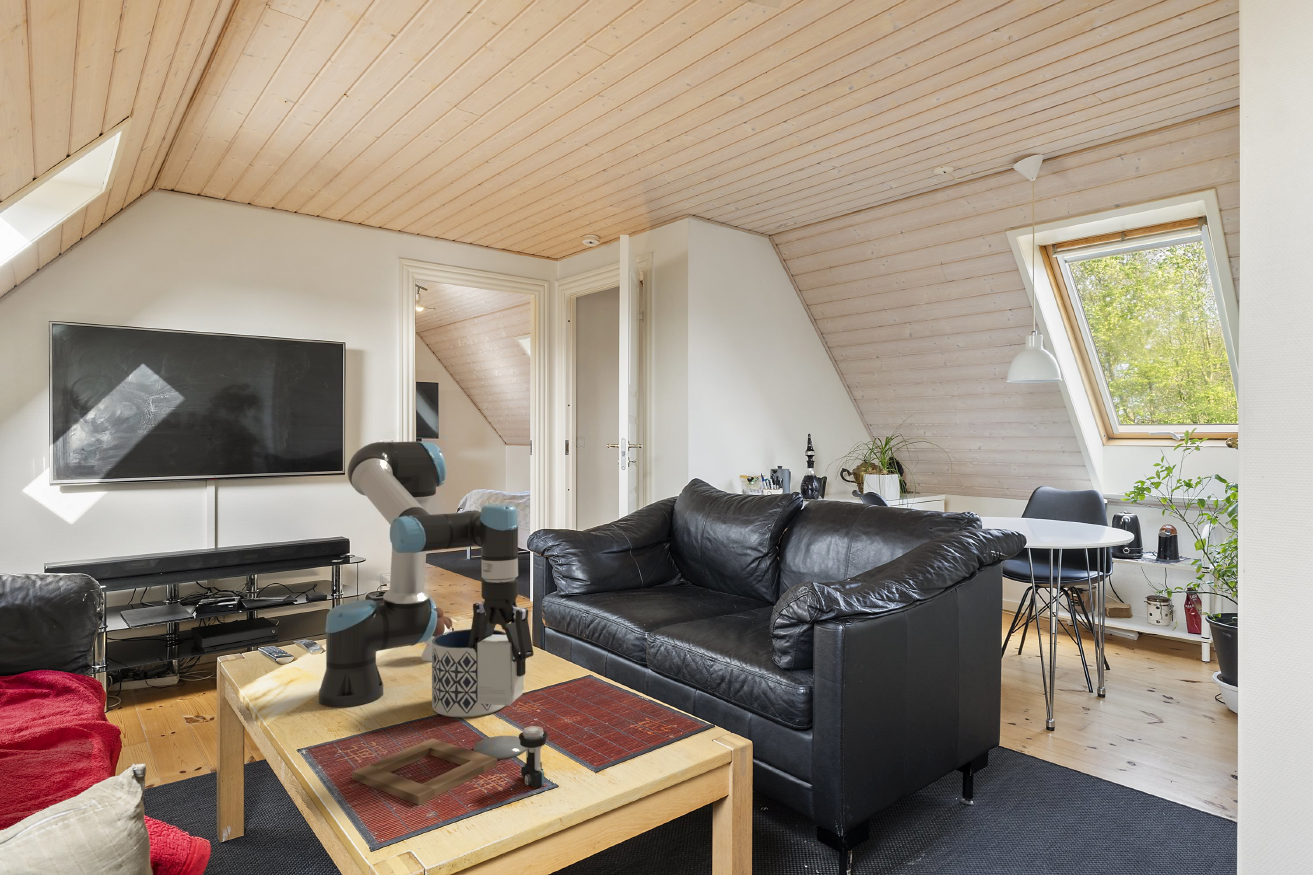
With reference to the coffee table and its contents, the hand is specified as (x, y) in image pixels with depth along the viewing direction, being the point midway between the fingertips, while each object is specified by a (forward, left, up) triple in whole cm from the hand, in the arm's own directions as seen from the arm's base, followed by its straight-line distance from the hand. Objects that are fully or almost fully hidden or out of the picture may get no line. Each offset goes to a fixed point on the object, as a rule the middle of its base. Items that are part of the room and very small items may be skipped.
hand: (500, 687), depth 157 cm
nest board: (-4, -16, -13) cm, 21 cm away
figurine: (-64, +38, -13) cm, 76 cm away
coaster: (0, 0, -13) cm, 13 cm away
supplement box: (0, 0, -3) cm, 3 cm away
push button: (+16, -8, -13) cm, 22 cm away
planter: (-25, +15, -13) cm, 32 cm away
